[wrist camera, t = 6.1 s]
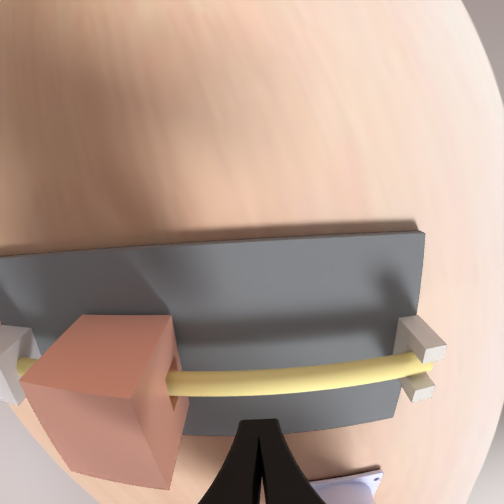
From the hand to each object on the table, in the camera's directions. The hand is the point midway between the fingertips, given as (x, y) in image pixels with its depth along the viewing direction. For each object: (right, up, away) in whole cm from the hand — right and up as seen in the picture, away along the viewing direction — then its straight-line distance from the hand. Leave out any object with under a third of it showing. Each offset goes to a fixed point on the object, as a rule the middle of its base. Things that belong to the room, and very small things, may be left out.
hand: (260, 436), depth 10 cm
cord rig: (-4, +1, +6) cm, 7 cm away
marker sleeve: (-6, +1, +6) cm, 9 cm away
